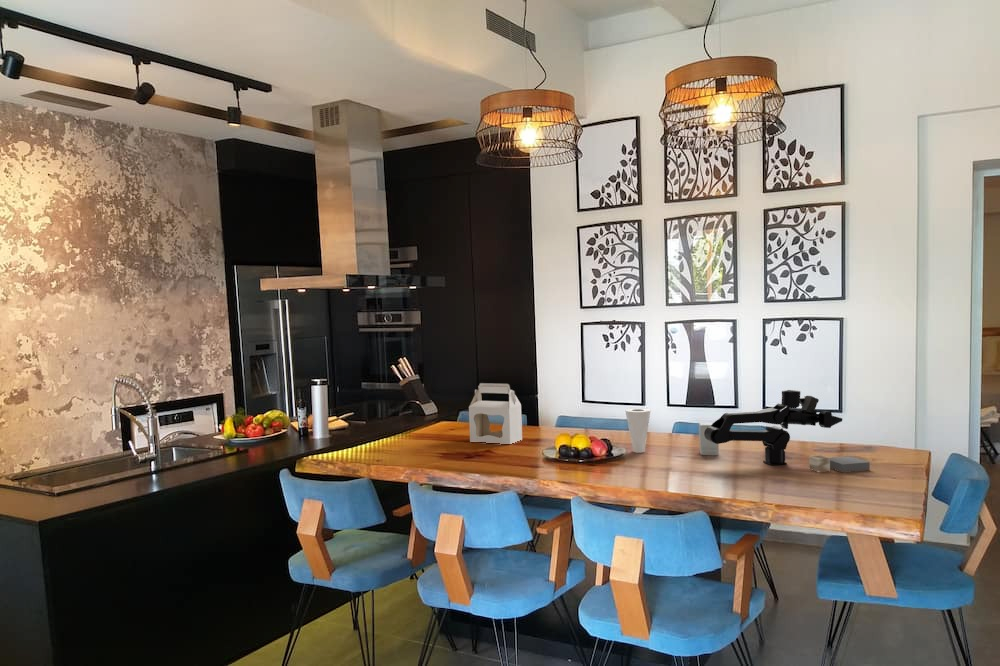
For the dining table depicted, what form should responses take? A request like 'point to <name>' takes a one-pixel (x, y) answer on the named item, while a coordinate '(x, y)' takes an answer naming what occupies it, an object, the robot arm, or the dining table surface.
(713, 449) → the supplement box
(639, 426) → the cup
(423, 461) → the dining table surface
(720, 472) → the dining table surface
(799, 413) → the robot arm
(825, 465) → the cube
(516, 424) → the gable box
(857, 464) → the base
